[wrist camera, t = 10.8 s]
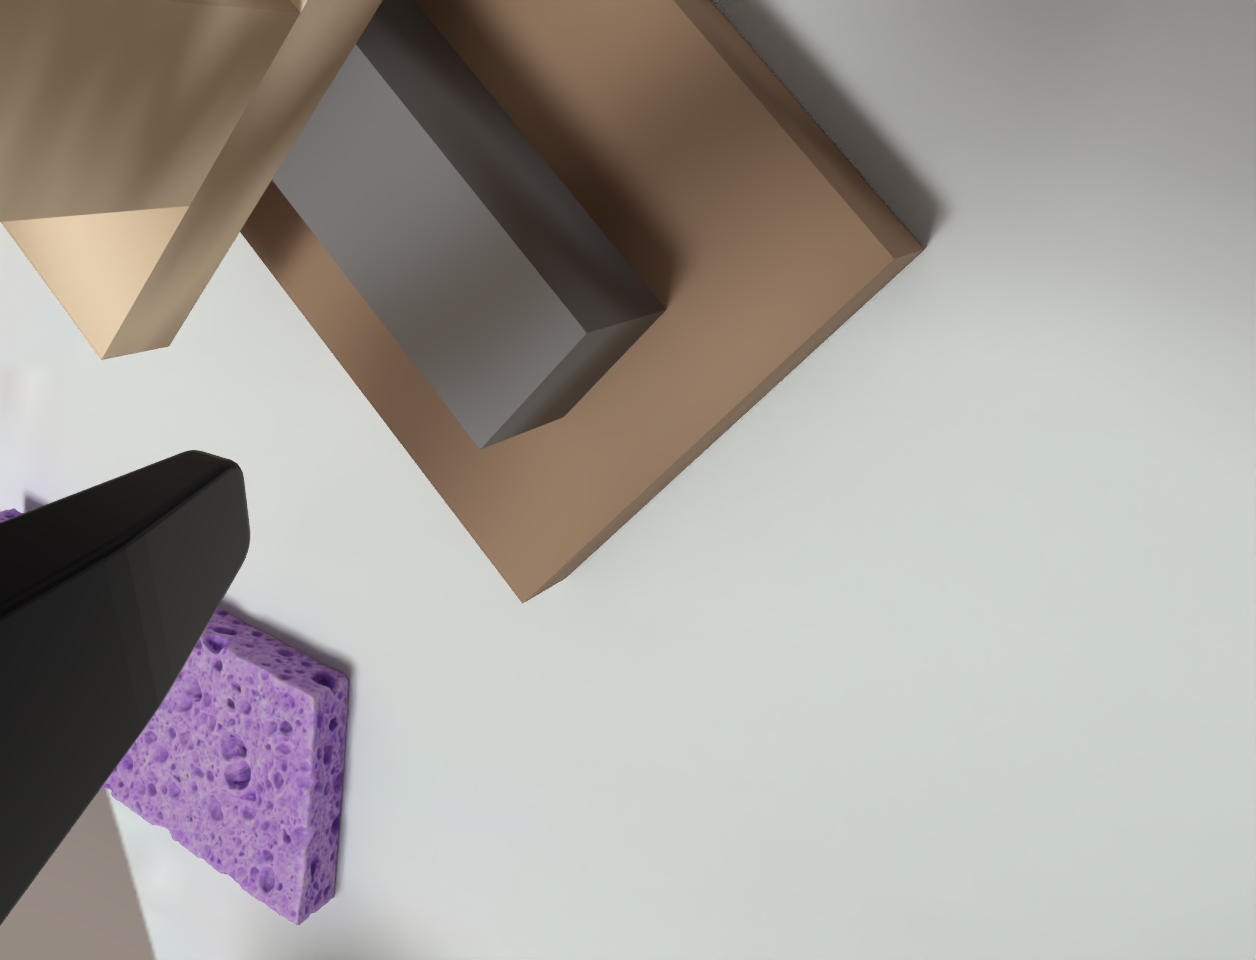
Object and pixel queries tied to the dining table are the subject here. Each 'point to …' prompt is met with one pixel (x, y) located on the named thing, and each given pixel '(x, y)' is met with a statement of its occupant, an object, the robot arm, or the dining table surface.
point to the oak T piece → (151, 142)
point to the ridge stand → (566, 251)
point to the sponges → (247, 764)
